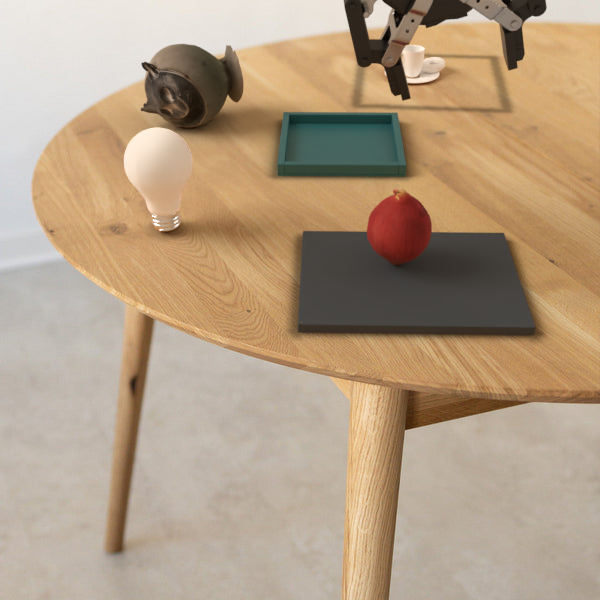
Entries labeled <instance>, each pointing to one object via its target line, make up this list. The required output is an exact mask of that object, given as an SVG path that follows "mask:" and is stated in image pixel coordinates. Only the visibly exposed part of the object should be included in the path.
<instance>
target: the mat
mask: <svg viewBox="0 0 600 600" xmlns="http://www.w3.org/2000/svg"><path fill="white" fill-rule="evenodd" d="M298 296H299V297H298V310H297V311H298V312H297V313H298V314H297V333H306V334H307V333H308V334H309V333H310V334H311V333H312V334H313V333H314V334H315V333H317V334H319V333H320V334H321V333H323V334H387V335H388V334H390V335H391V334H392V335H394V334H395V335H396V334H397V335H398V334H399V335H459V336H460V335H463V336H464V335H468V336H472V335H473V336H475V335H476V336H535V332H536V325H535V321H534V319H533V316H532V313H531V310H530V306H529V304H528V301H527V298H526V294H525V292H524V288H523V285H522V283H521V279H520V276H519V274H518V270H517V267H516V265H515V262H514V258H513V255H512V253H511V250H510V247H509V244H508V241H507V238H506V234H505V232H457V231H456V232H455V231H454V232H453V231H447V232H446V231H432V232H431V237H430V241H429V244H428V246H427V247H426V249H425V250H424V251H423V252H422V253H421V254H420V255H419V256H418V257H417V258H415V259H414V260H412V261H409V262H406V263H403V264H401V265H393V264H391V263H390V262H389V261H387V260H386V259H384V258H383V257H381V256H380V255H378V254H377V253H376V252H375V251H374V250H373V248H372V246H371V244H370V242H369V240H368V239H367V231H358V230H357V231H355V230H353V231H349V230H348V231H345V230H344V231H342V230H340V231H339V230H337V231H336V230H303V231H302V241H301V261H300V275H299V295H298ZM301 322H302V323H301Z"/></svg>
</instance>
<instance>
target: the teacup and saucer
mask: <svg viewBox="0 0 600 600" xmlns="http://www.w3.org/2000/svg"><path fill="white" fill-rule="evenodd" d="M425 52H426V48H425V47H424V46H422V45H419V44H409V45H406V46H405V48H404V50H403V51H402V53H401V56H402V63H403V67H404V71H405V75H406V79H407V83H408V84H424V83H425V84H426V83H429V82H430V83H431V82H433V81H435V80H437V79H439V77H440V72H441V71H443V70H444V69H445V67H446V61H445V59H444V58H442V57H439V56H431V57H426V58H425V54H426V53H425ZM383 73H384V75H385V76H386V77H387V75H386V72H385V70H384V72H383Z"/></svg>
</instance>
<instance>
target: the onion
mask: <svg viewBox="0 0 600 600" xmlns="http://www.w3.org/2000/svg"><path fill="white" fill-rule="evenodd" d="M432 225H433V224H432V220H431V216H430V214H429V212H428V210H426V208H425V206H424V204H422V202H421V201H420V200H419V199H417V198H416V197H415V196H413V195H411V194H410V193H409V192H407V190H406V189H405V188H404V187H397V188H395V189H393V190H392V194H391V195H389V196H387V197H385V198H384V199H382V200H381V201H380V202H379V203H378V204H377V205H376V206H374V208H373V209H372V210H371V212H370V214H369V216H368V219H367V225H366V232H367V239H368V240H369V242H370V244H371V246H372V248H373V250H374V251H375V252H376V253H377V254H378V255H380V256H381V257H383V258H384V259H386V260H387V261H389V262H390V263H391V264H393V265H401V264H403V263H406V262H409V261H412V260H414V259H415V258H417V257H418V256H419V255H420V254H421V253H422V252H423V251H424V250H425V249H426V247H427V246H428V244H429V241H430V237H431V232H433V227H432Z"/></svg>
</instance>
